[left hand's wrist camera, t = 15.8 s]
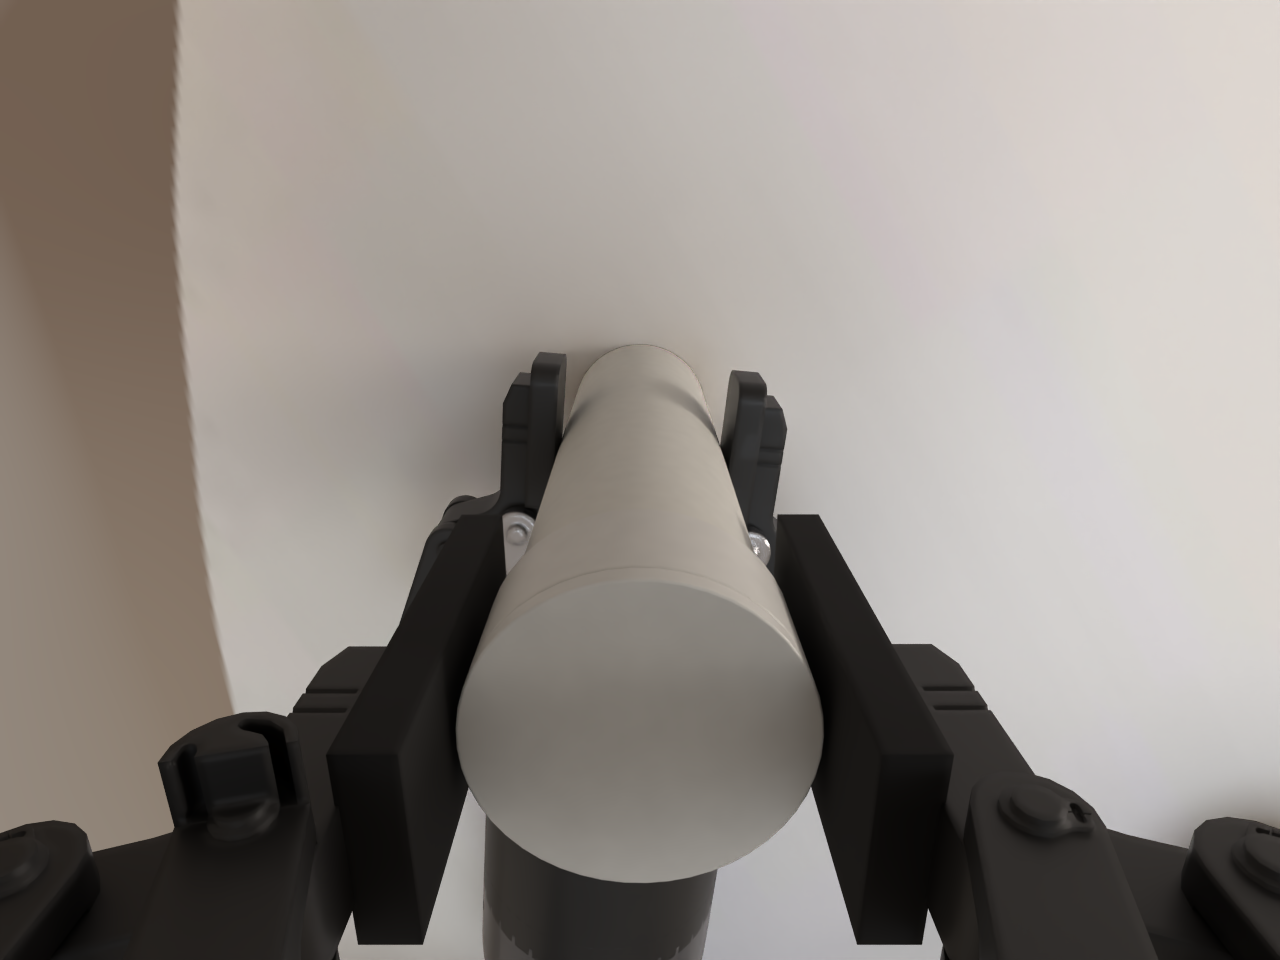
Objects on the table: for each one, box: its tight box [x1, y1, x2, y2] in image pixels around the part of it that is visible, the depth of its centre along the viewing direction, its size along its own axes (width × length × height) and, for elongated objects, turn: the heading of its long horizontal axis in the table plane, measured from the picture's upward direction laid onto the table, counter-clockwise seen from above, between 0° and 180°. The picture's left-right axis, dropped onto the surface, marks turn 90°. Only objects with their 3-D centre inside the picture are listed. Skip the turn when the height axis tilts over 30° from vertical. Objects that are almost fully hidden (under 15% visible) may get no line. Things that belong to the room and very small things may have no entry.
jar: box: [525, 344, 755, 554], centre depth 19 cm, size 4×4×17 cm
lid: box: [455, 509, 824, 883], centre depth 11 cm, size 5×5×2 cm
